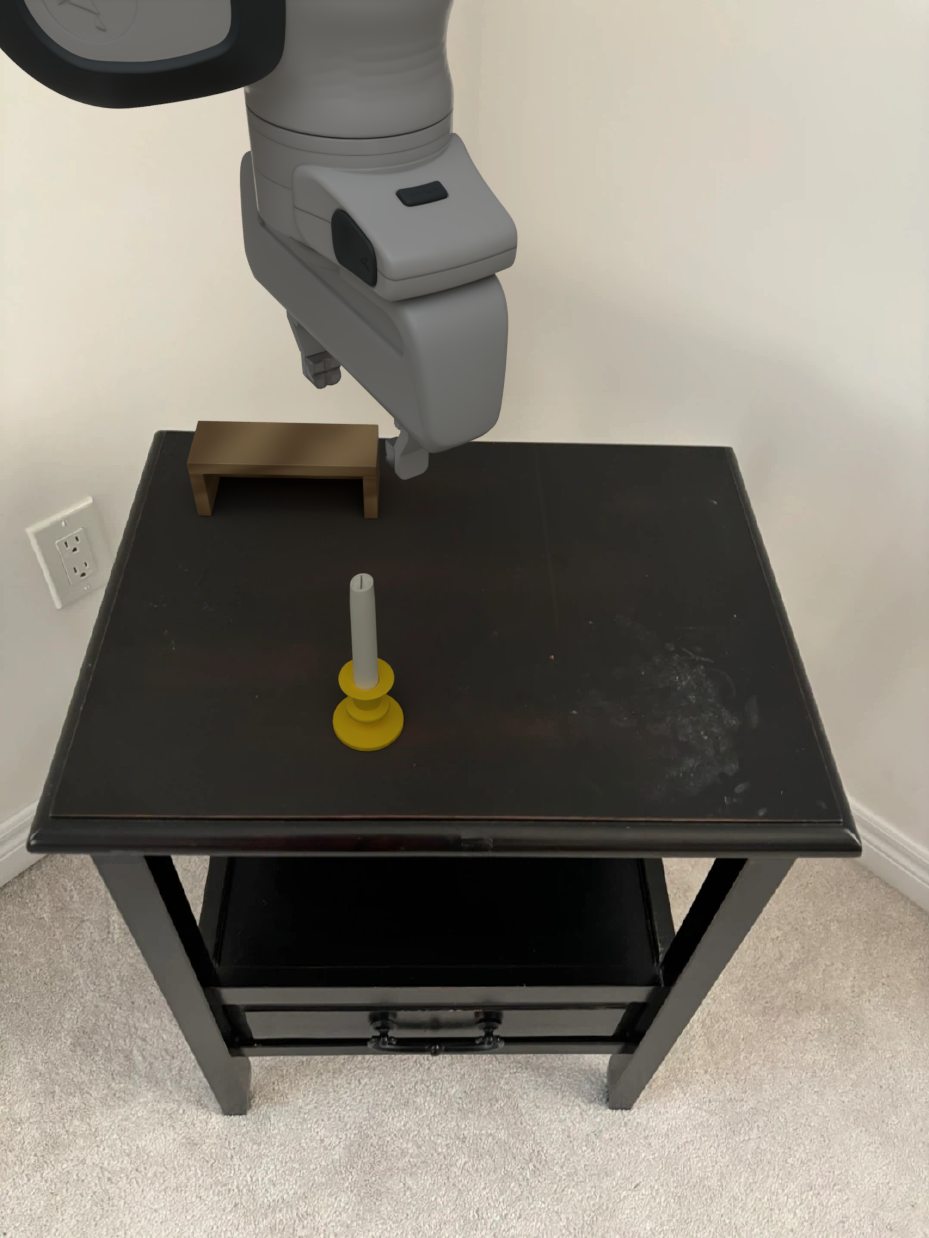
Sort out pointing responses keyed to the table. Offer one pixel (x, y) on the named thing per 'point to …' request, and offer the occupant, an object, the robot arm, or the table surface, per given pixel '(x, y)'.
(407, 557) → the table surface
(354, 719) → the candle
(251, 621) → the table surface
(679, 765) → the table surface
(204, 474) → the shelf
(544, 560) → the table surface
